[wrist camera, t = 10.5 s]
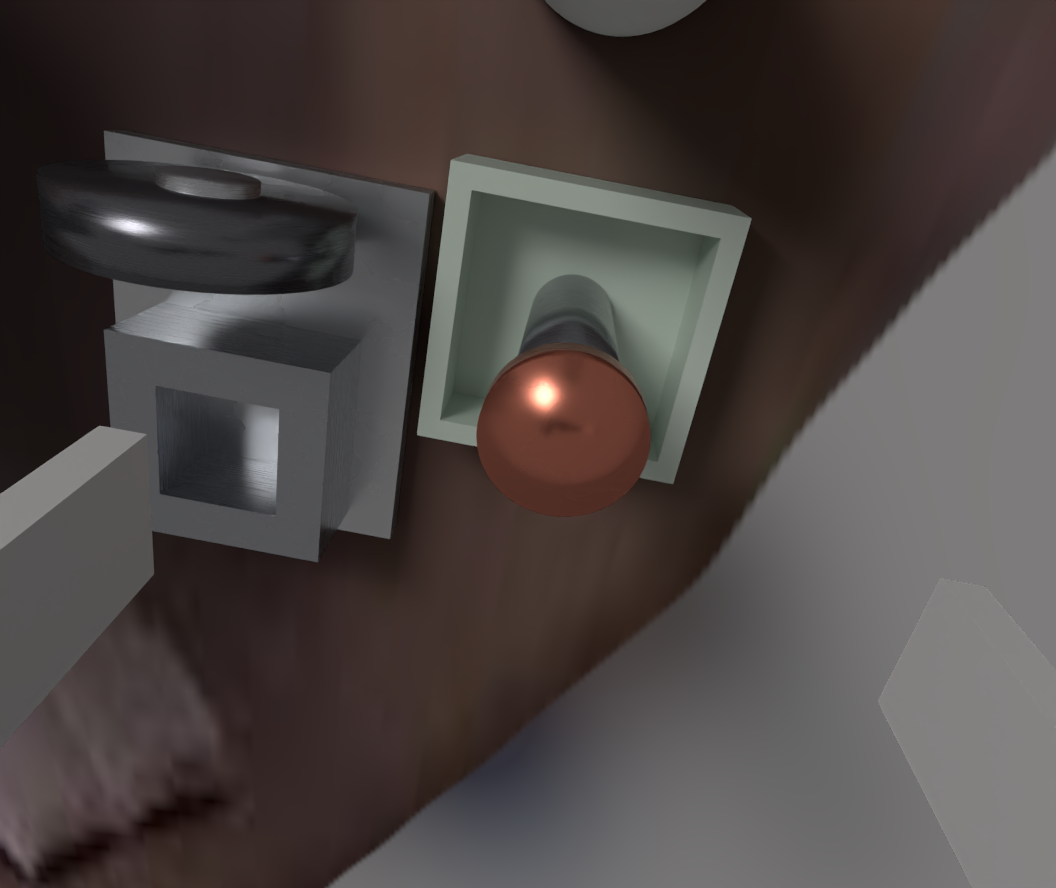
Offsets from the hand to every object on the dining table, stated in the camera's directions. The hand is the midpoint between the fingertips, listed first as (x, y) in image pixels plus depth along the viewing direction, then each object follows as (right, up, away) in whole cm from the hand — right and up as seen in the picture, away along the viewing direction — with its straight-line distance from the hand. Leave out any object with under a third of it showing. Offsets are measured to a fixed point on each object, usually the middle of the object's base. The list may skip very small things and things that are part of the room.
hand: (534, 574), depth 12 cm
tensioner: (-11, +6, +19) cm, 22 cm away
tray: (+2, +8, +17) cm, 19 cm away
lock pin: (+2, +7, +17) cm, 18 cm away
